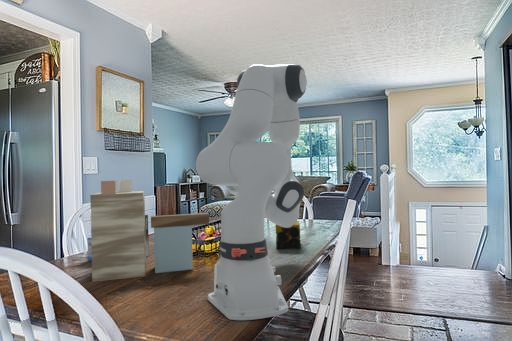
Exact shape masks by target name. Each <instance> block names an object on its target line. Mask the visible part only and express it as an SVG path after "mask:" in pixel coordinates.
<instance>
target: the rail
mask: <svg viewBox="0 0 512 341" xmlns="http://www.w3.org/2000/svg"><path fill="white" fill-rule="evenodd" d="M187 225H191V226H199V225H210V214H209V213H208V212H200V213H198V212H197V213H183V214H167V215H166V214H165V215H151V216H150V229H152V228H153V229H154V228H157V227H172V226H187Z"/></svg>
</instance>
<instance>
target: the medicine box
mask: <svg viewBox="0 0 512 341" xmlns="http://www.w3.org/2000/svg"><path fill="white" fill-rule="evenodd" d="M87 261H88V262H92V245H91V236H90V237H87Z"/></svg>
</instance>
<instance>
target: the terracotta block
mask: <svg viewBox="0 0 512 341" xmlns="http://www.w3.org/2000/svg"><path fill="white" fill-rule="evenodd" d="M117 182H118V180H101V181H100V193H101V194H116V193H117V192H118V190H117V189H118V184H117Z"/></svg>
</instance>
